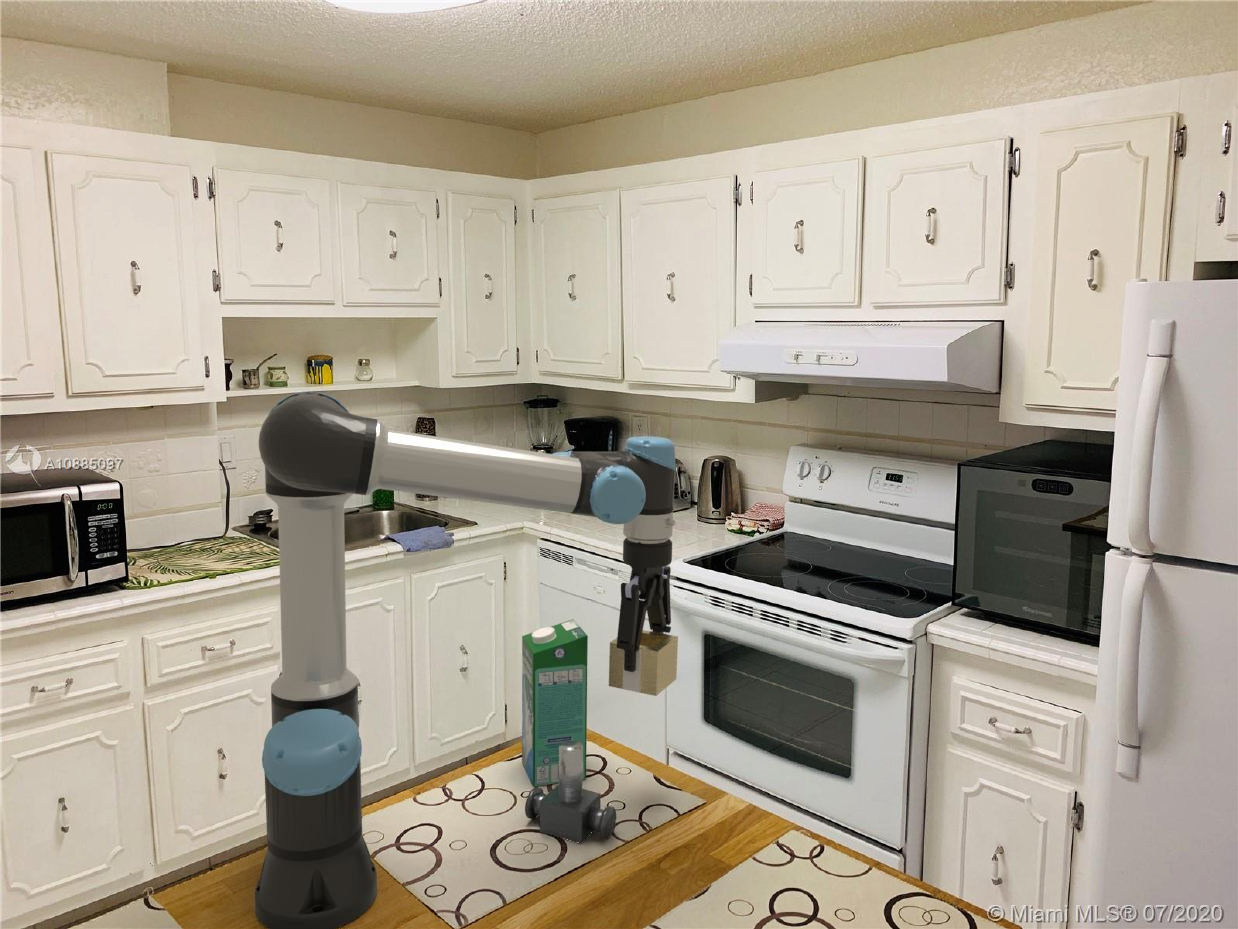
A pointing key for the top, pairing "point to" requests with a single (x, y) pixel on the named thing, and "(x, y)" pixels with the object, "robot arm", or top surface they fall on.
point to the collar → (648, 662)
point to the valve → (570, 802)
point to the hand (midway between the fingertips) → (643, 680)
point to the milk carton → (553, 698)
